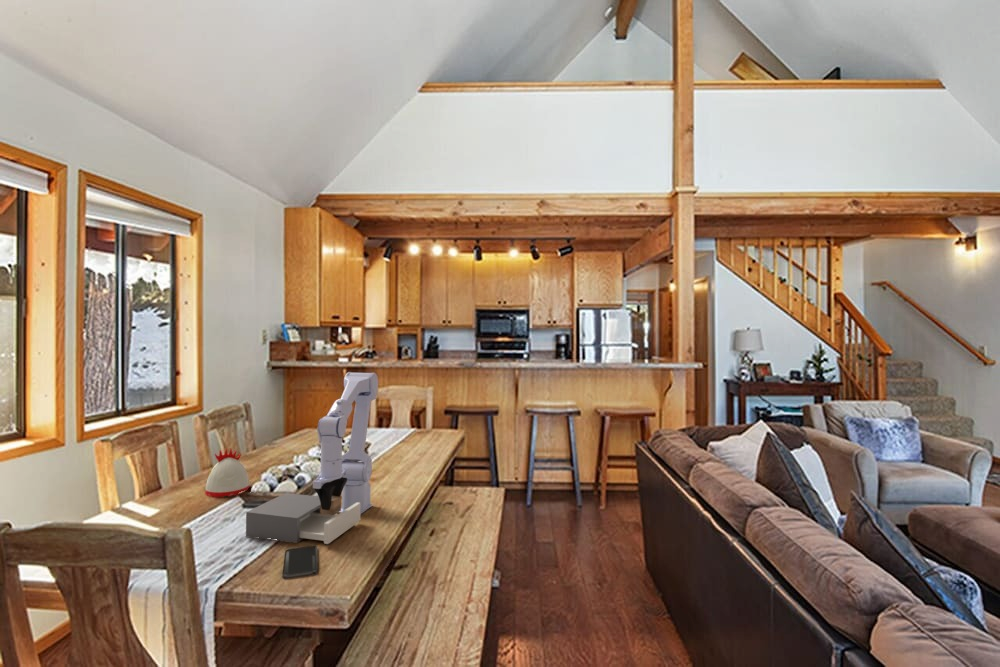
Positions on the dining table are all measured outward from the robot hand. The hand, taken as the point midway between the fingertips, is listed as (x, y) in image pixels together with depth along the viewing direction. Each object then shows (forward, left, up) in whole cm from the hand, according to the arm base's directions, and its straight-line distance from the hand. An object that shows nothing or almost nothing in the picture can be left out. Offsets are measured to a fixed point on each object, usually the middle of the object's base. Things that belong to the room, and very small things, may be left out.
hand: (330, 506), depth 144 cm
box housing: (0, -13, -8) cm, 15 cm away
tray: (0, -3, -7) cm, 7 cm away
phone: (+18, +3, -8) cm, 20 cm away
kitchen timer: (-23, -55, -8) cm, 60 cm away
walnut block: (0, 0, -2) cm, 2 cm away
